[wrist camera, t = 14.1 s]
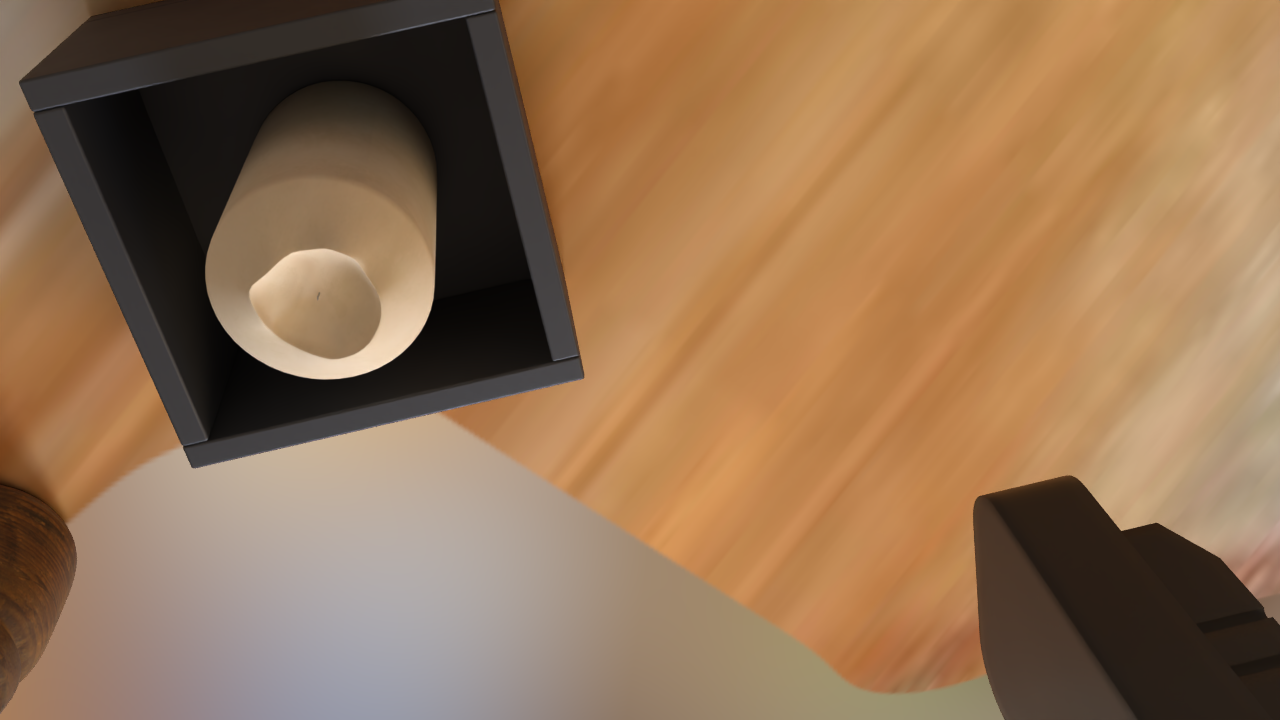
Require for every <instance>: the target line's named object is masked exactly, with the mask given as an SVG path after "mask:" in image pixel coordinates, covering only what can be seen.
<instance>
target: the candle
mask: <svg viewBox="0 0 1280 720" xmlns="http://www.w3.org/2000/svg"><path fill="white" fill-rule="evenodd" d="M436 212H437V167H436V159H435V154H434V150H433V147H432V144H431V141H430V139H429V137H428V135H427V133H426V131H425V129H424V127H423V126H422V124H421V123H420V121H419V120H418V119H417V117H416V116H415V115H414V114H413V113H412V112H411V111H410V109H409V108H407V107H406V106H405V105H404V104H403V103H402V102H401V101H399V100H398V99H396V98H395V97H393V96H392V95H390V94H388V93H386V92H385V91H383V90H381V89H378V88H376V87H373V86H370V85H367V84H363V83H359V82H352V81H328V82H321V83H317V84H313V85H310V86H307V87H305V88H303V89H300V90H298V91H296V92H295V93H293V94H291V95H290V96H288V97H287V98H285V99H284V100H283V101H282V102H281V103H279V104H278V105H277V106H276V107H275V108H274V109H273V110H272V111H271V113H270V114H269V115H268V117H267V118H266V119H265V121H264V122H263V124H262V126H261V128H260V130H259V132H258V134H257V136H256V138H255V140H254V142H253V145H252V147H251V149H250V152H249V154H248V156H247V158H246V161H245V163H244V165H243V168H242V170H241V172H240V175H239V177H238V179H237V181H236V184H235V186H234V188H233V191H232V193H231V195H230V198H229V200H228V202H227V204H226V207H225V209H224V211H223V214H222V216H221V218H220V221H219V223H218V225H217V227H216V230H215V232H214V234H213V237H212V239H211V242H210V245H209V249H208V252H207V258H206V265H205V280H206V286H207V292H208V296H209V299H210V302H211V305H212V308H213V310H214V312H215V314H216V316H217V318H218V320H219V321H220V323H221V325H222V326H223V328H224V329H225V331H226V332H227V333H228V334H229V335H230V336H231V338H232V339H233V340H234V341H235V342H236V343H237V344H238V345H239V346H240V347H241V348H242V349H244V350H245V351H246V352H247V353H249V354H250V355H252V356H253V357H254V358H256V359H257V360H259V361H261V362H263V363H264V364H266V365H268V366H270V367H272V368H275V369H277V370H279V371H282V372H285V373H288V374H292V375H295V376H300V377H305V378H311V379H341V378H348V377H354V376H357V375H361V374H364V373H368V372H370V371H373V370H375V369H377V368H380V367H382V366H383V365H385V364H387V363H389V362H390V361H392V360H393V359H395V358H396V357H397V356H399V355H400V354H401V353H403V352H404V351H405V350H406V349H407V348H408V347H409V346H410V345H411V344H412V342H413V341H414V340H415V339H416V337H417V336H418V335H419V333H420V332H421V330H422V328H423V326H424V325H425V323H426V321H427V318H428V316H429V313H430V311H431V306H432V302H433V298H434V286H435V252H436Z"/></svg>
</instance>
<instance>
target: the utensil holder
mask: <svg viewBox="0 0 1280 720" xmlns="http://www.w3.org/2000/svg"><path fill="white" fill-rule="evenodd" d="M76 563H77V554H76V547H75V543H74V540H73V537H72V535H71V533H70V531H69V529H68V527H67V526H66V524H65V523H64V521H63V520H62V519H61V518H60V516H59V515H58V514H57V513H56V512H55V511H54V510H52V509H51V508H50V507H49V506H48V505H46V504H45V503H43V502H42V501H40V500H39V499H37V498H35V497H34V496H32V495H30V494H28V493H25V492H23V491H20V490H17V489H15V488H11V487H7V486H3V485H0V713H1V712H2V711H3V710H4V708H5V707H6V706H7V704H8V703H9V701H10V700H11V698H12V697H13V695H14V693H15V691H16V689H17V687H18V684H19V682H21V681H22V680H23V679H24V678H25V677H26V676H27V675H28V674H29V672H30V671H31V670H32V669H33V668H34V666H35V665H36V664H37V662H38V661H39V659H40V657H41V655H42V654H43V652H44V650H45V648H46V646H47V644H48V642H49V640H50V637H51V635H52V633H53V631H54V628H55V626H56V623H57V621H58V619H59V617H60V614H61V612H62V609H63V607H64V604H65V602H66V600H67V597H68V595H69V592H70V589H71V587H72V583H73V580H74V576H75V571H76Z"/></svg>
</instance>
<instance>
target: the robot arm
mask: <svg viewBox="0 0 1280 720" xmlns="http://www.w3.org/2000/svg"><path fill="white" fill-rule="evenodd" d="M973 526H974V543H975V561H976V578H977V596H978V614H979V631H980V643H981V650H982V655H983V660H984V664H985V668H986V672H987V675H988V679H989V682H990V685H991V688H992V691H993V694H994V696H995V699H996V702H997V704H998V706H999V709H1000V711H1001V713H1002V715H1003V717H1004V719H1005V720H1280V625H1279V624H1278V623H1277V621H1276V620H1275V619H1274V618H1273V617H1272V618H1267V616H1266V614H1265V612H1264V607H1263V606H1262V605H1261V604H1260V602H1259V601H1258V600H1257V599H1256V598H1255V597H1254V596H1253V595H1252V593H1251V592H1250V591H1249V590H1248V589H1247V588H1246V587H1245V586H1244V584H1243V583H1242V582H1241V581H1240V580H1239V579H1238V578H1237V577H1236V576H1235V574H1234V573H1233V572H1232V571H1231V570H1230V569H1229V568H1228V567H1227V565H1226V564H1225V563H1224V562H1223V561H1222V560H1221V559H1220V558H1219V557H1217V556H1215V555H1213V554H1212V553H1210V552H1208V551H1206V550H1205V549H1203V548H1201V547H1199V546H1197V545H1196V544H1194V543H1192V542H1190V541H1189V540H1187V539H1185V538H1183V537H1181V536H1180V535H1178V534H1176V533H1174V532H1173V531H1171V530H1169V529H1167V528H1165V527H1164V526H1162V525H1160V524H1158V523H1153V524H1149V525H1145V526H1141V527H1137V528H1132V529H1128V530H1124V531H1121V530H1120V529H1119V528H1118V527H1117V525H1116V524H1115V523H1114V522H1113V520H1112V519H1111V518H1110V517H1109V515H1108V514H1107V513H1106V512H1105V510H1104V509H1103V508H1102V507H1101V506H1100V504H1099V503H1098V502H1097V501H1096V499H1095V498H1094V497H1093V496H1092V494H1091V493H1090V492H1089V491H1088V489H1087V488H1086V487H1085V486H1084V485H1083V484H1082V483H1081V481H1079V480H1078V479H1077V478H1075V477H1073V476H1071V475H1069V476H1062V477H1058V478H1054V479H1050V480H1045V481H1041V482H1037V483H1033V484H1028V485H1024V486H1020V487H1016V488H1011V489H1007V490H1003V491H999V492H995V493H990V494H986V495H982V496H979V497H978V498H977V499H976V501H975V504H974V510H973Z"/></svg>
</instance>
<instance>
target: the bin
mask: <svg viewBox="0 0 1280 720" xmlns="http://www.w3.org/2000/svg"><path fill="white" fill-rule="evenodd" d="M328 81H352V82H359V83H363V84H367V85H370V86H373V87H376V88H378V89H381V90H383V91H385V92H386V93H388V94H390V95H392V96H393V97H395V98H396V99H398V100H399V101H401V102H402V103H403V104H404V105H405V106H406V107H407V108H409V109H410V111H411V112H412V113H413V114H414V115H415V116H416V117H417V119H418V120H419V121H420V123H421V124H422V126H423V127H424V129H425V131H426V133H427V135H428V137H429V139H430V141H431V144H432V147H433V150H434V154H435V159H436V167H437V212H436V252H435V286H434V298H433V302H432V306H431V311H430V313H429V316H428V318H427V321H426V323H425V325H424V326H423V328H422V330H421V332H420V333H419V335H418V336H417V337H416V339H415V340H414V341H413V342H412V344H411V345H410V346H409V347H408V348H407V349H406V350H405V351H404V352H403V353H401V354H400V355H399V356H397V357H396V358H395V359H393V360H392V361H390V362H389V363H387V364H385V365H383V366H382V367H380V368H377V369H375V370H373V371H370V372H368V373H364V374H361V375H357V376H354V377H348V378H341V379H311V378H305V377H300V376H295V375H292V374H288V373H285V372H282V371H279V370H277V369H275V368H272V367H270V366H268V365H266V364H264V363H263V362H261V361H259V360H257V359H256V358H254V357H253V356H252V355H250V354H249V353H247V352H246V351H245V350H244V349H242V348H241V347H240V346H239V345H238V344H237V343H236V342H235V341H234V340H233V339H232V338H231V336H230V335H229V334H228V333H227V332H226V331H225V329H224V328H223V326H222V325H221V323H220V321H219V320H218V318H217V316H216V314H215V312H214V310H213V308H212V305H211V302H210V299H209V296H208V292H207V286H206V280H205V265H206V258H207V252H208V249H209V245H210V242H211V239H212V237H213V234H214V232H215V230H216V227H217V225H218V223H219V221H220V218H221V216H222V214H223V211H224V209H225V207H226V204H227V202H228V200H229V198H230V195H231V193H232V191H233V188H234V186H235V184H236V181H237V179H238V177H239V175H240V172H241V170H242V168H243V165H244V163H245V161H246V158H247V156H248V154H249V152H250V149H251V147H252V145H253V142H254V140H255V138H256V136H257V134H258V132H259V130H260V128H261V126H262V124H263V122H264V121H265V119H266V118H267V117H268V115H269V114H270V113H271V111H272V110H273V109H274V108H275V107H276V106H277V105H278V104H279V103H281V102H282V101H283V100H284V99H285V98H287V97H288V96H290V95H291V94H293V93H295V92H296V91H298V90H300V89H303V88H305V87H307V86H310V85H313V84H317V83H321V82H328ZM19 84H20V86H21V89H22V91H23V93H24V95H25V98H26V100H27V102H28V104H29V107H30V109H31V110H32V111H34V117H35V119H36V122H37V124H38V126H39V128H40V131H41V133H42V135H43V137H44V139H45V142H46V144H47V146H48V148H49V151H50V153H51V155H52V157H53V159H54V162H55V164H56V166H57V168H58V171H59V173H60V175H61V177H62V180H63V182H64V184H65V186H66V188H67V191H68V193H69V195H70V197H71V200H72V202H73V204H74V206H75V208H76V211H77V213H78V215H79V217H80V220H81V222H82V224H83V226H84V229H85V231H86V233H87V235H88V237H89V240H90V242H91V244H92V246H93V249H94V251H95V253H96V255H97V257H98V260H99V262H100V264H101V266H102V269H103V271H104V273H105V275H106V278H107V280H108V282H109V284H110V286H111V289H112V291H113V293H114V295H115V298H116V300H117V302H118V304H119V306H120V309H121V311H122V313H123V315H124V318H125V320H126V322H127V324H128V327H129V329H130V331H131V333H132V335H133V338H134V340H135V342H136V344H137V347H138V349H139V351H140V353H141V355H142V358H143V360H144V362H145V364H146V367H147V369H148V371H149V373H150V376H151V378H152V380H153V382H154V384H155V387H156V389H157V391H158V393H159V396H160V398H161V400H162V402H163V404H164V407H165V409H166V411H167V413H168V416H169V418H170V420H171V422H172V425H173V427H174V429H175V431H176V433H177V436H178V438H179V440H180V442H181V444H182V445H183V449H184V451H185V453H186V456H187V458H188V460H189V462H190V464H191V467H192V468H199V467H203V466H207V465H211V464H215V463H220V462H224V461H229V460H233V459H238V458H242V457H246V456H251V455H255V454H259V453H263V452H268V451H272V450H277V449H281V448H285V447H290V446H294V445H298V444H303V443H307V442H311V441H316V440H320V439H325V438H329V437H333V436H338V435H342V434H346V433H351V432H355V431H359V430H364V429H368V428H372V427H377V426H380V425H385V424H390V423H394V422H398V421H403V420H407V419H411V418H416V417H420V416H424V415H429V414H433V413H437V412H442V411H446V410H450V409H455V408H459V407H463V406H468V405H472V404H476V403H481V402H485V401H490V400H494V399H498V398H503V397H507V396H511V395H516V394H520V393H524V392H529V391H533V390H537V389H542V388H546V387H550V386H555V385H559V384H563V383H568V382H572V381H576V380H581V379H583V378H584V371H583V366H582V361H581V356H580V351H579V346H578V341H577V336H576V331H575V326H574V321H573V316H572V311H571V306H570V301H569V296H568V291H567V286H566V281H565V277H564V272H563V268H562V264H561V260H560V256H559V251H558V247H557V243H556V239H555V235H554V230H553V226H552V222H551V218H550V214H549V209H548V205H547V201H546V197H545V193H544V189H543V184H542V180H541V176H540V172H539V168H538V163H537V159H536V155H535V151H534V147H533V142H532V138H531V134H530V130H529V126H528V121H527V117H526V113H525V109H524V105H523V100H522V96H521V92H520V88H519V84H518V79H517V75H516V71H515V67H514V63H513V58H512V54H511V50H510V46H509V42H508V38H507V33H506V29H505V25H504V21H503V17H502V12H501V8H500V4H499V0H165V1H160V2H155V3H151V4H146V5H142V6H137V7H132V8H128V9H123V10H119V11H114V12H110V13H105V14H100V15H96V16H91V17H90V18H89V19H88V20H87V21H86V22H85V23H83V24H82V25H81V26H80V27H79V28H78V29H77V30H76V31H74V32H73V33H72V34H71V35H70V36H69V37H68V38H67V39H66V40H64V41H63V42H62V43H61V44H60V45H59V46H58V47H57V48H56V49H55V50H53V51H52V52H51V53H50V54H49V55H48V56H47V57H46V58H45V59H43V60H42V61H41V62H40V63H39V64H38V65H37V66H36V67H35V68H34V69H32V70H31V71H30V72H29V73H28V74H27V75H26V76H25V77H24V78H22V79H21V80H20V81H19Z"/></svg>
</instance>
